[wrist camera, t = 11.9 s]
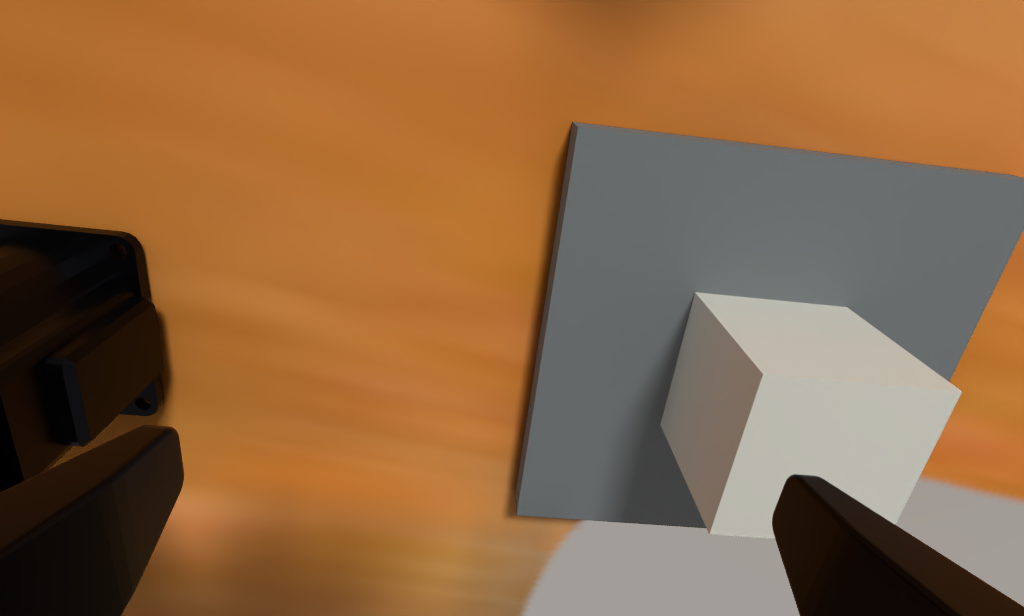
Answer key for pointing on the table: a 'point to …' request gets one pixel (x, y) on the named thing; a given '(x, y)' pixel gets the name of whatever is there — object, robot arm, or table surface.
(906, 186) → the rubber mat
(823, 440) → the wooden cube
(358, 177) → the table surface
